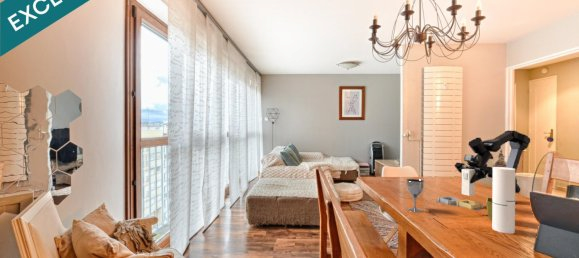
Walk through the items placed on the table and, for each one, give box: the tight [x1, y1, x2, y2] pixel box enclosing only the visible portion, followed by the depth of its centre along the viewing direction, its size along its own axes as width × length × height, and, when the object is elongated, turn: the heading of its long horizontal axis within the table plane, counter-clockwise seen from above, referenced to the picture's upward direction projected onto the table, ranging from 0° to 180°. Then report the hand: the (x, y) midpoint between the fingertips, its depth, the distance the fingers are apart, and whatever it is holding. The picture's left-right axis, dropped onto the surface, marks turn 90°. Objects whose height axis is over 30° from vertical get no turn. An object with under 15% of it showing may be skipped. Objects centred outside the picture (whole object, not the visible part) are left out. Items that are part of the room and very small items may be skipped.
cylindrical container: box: [491, 166, 516, 235], centre depth 108 cm, size 7×7×25 cm
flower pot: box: [485, 196, 492, 222], centre depth 119 cm, size 9×9×9 cm
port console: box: [435, 196, 487, 211], centre depth 142 cm, size 12×20×3 cm, turn 41°
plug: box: [461, 169, 476, 197], centre depth 138 cm, size 4×4×13 cm
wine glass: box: [406, 178, 425, 213], centre depth 134 cm, size 8×8×15 cm
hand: (466, 182), depth 138 cm, fingers closed on plug, 4 cm apart
